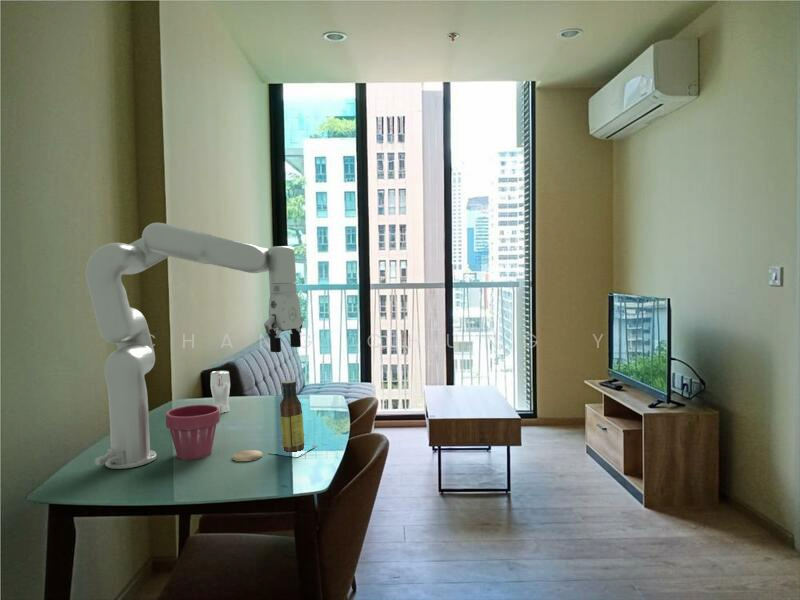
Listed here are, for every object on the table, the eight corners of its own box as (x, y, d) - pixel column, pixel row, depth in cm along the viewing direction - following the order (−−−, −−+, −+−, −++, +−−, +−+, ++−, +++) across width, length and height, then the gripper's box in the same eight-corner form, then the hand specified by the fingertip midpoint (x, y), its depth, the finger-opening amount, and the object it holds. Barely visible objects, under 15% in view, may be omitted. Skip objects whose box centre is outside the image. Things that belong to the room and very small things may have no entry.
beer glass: (210, 410, 198) (209, 371, 198) (229, 408, 201) (228, 369, 201) (212, 415, 192) (210, 374, 191) (232, 412, 195) (230, 372, 194)
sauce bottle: (306, 445, 154) (304, 378, 153) (302, 452, 148) (300, 383, 147) (283, 446, 154) (281, 379, 153) (279, 453, 147) (277, 383, 147)
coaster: (250, 463, 141) (249, 461, 141) (226, 460, 144) (226, 458, 144) (268, 454, 148) (268, 451, 148) (245, 451, 151) (245, 449, 151)
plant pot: (231, 449, 153) (229, 405, 153) (197, 465, 140) (195, 418, 139) (192, 444, 158) (190, 402, 157) (155, 460, 145) (153, 414, 144)
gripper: (275, 290, 140) (278, 354, 141) (310, 288, 156) (313, 345, 157) (252, 291, 143) (256, 353, 144) (289, 288, 159) (292, 345, 160)
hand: (286, 349), depth 150 cm, fingers open, 9 cm apart
